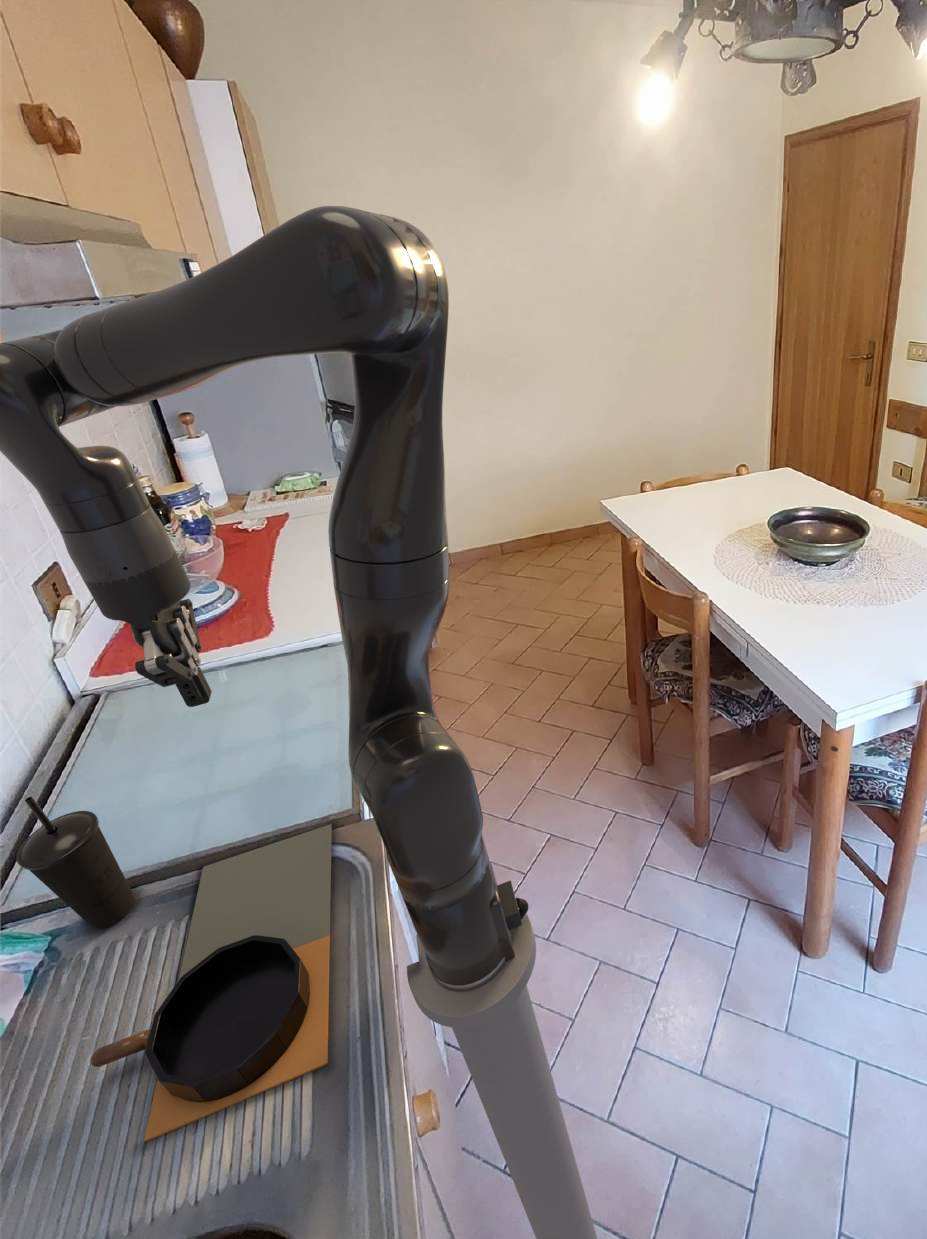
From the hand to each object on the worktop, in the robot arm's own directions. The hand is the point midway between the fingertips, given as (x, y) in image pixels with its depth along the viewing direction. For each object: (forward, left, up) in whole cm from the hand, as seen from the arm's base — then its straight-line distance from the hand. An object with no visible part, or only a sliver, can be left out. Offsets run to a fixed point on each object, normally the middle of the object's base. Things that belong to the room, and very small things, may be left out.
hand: (200, 700), depth 70 cm
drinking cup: (+21, -4, -29) cm, 36 cm away
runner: (+3, +9, -29) cm, 31 cm away
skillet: (+6, +17, -29) cm, 34 cm away
